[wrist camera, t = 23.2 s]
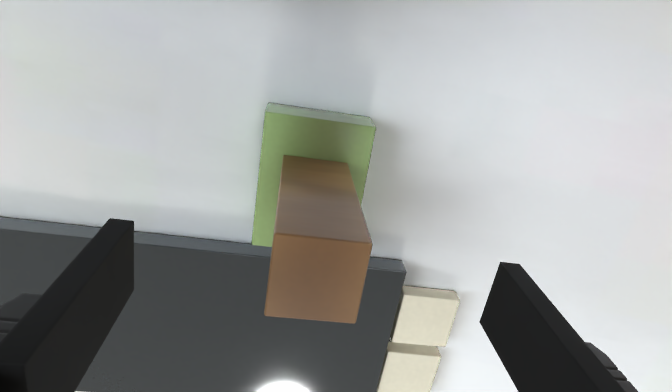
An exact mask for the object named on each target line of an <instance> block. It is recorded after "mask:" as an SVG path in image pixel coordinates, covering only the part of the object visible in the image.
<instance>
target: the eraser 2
mask: <svg viewBox="0 0 672 392" xmlns="http://www.w3.org/2000/svg"><path fill="white" fill-rule="evenodd" d="M440 360H441V355H440V353H439V350H438V348H437V346H428V345H417V344H406V343H395V342H388V346H387V350H386V354H385V358H384V362H383V366H382V370H381V374H380V378H379V382H378V386H377V390H376V392H430V390H431V387H432V384H433V381H434V378H435V375H436V372H437V369H438V366H439V363H440Z"/></svg>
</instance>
